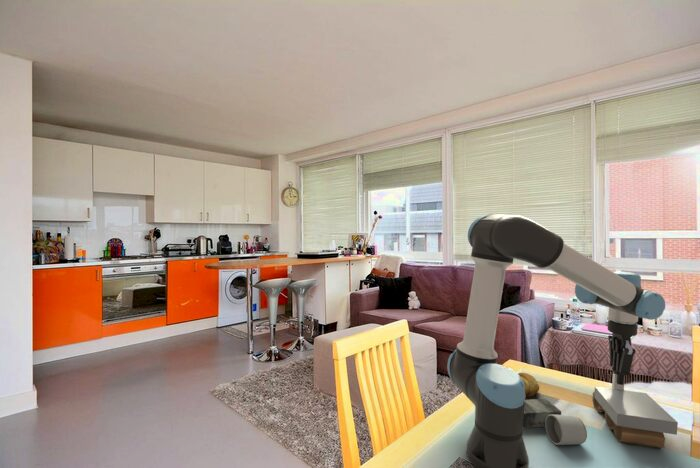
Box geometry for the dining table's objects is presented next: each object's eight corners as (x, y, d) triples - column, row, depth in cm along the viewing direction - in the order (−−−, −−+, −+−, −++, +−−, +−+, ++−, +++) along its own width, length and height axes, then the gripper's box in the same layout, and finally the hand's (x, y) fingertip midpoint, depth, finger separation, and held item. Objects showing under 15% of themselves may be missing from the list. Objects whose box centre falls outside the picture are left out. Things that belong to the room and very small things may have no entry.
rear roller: (630, 418, 116) (637, 413, 112) (595, 413, 119) (601, 407, 115) (625, 399, 120) (632, 393, 116) (591, 394, 123) (596, 388, 118)
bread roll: (532, 386, 134) (533, 365, 133) (548, 400, 124) (549, 378, 124) (499, 387, 133) (500, 366, 132) (512, 401, 123) (513, 378, 123)
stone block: (501, 412, 117) (501, 396, 116) (543, 411, 118) (544, 396, 117) (515, 428, 108) (516, 412, 108) (561, 427, 109) (562, 411, 108)
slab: (616, 425, 100) (617, 413, 100) (594, 396, 115) (594, 386, 115) (676, 434, 96) (677, 422, 96) (645, 403, 112) (646, 393, 111)
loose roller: (612, 433, 106) (614, 415, 106) (652, 439, 104) (654, 421, 103) (621, 445, 101) (623, 426, 100) (663, 452, 98) (665, 433, 98)
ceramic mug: (588, 449, 99) (590, 422, 98) (561, 451, 98) (562, 424, 97) (562, 427, 109) (563, 402, 109) (537, 428, 108) (538, 403, 108)
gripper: (647, 328, 106) (641, 404, 108) (626, 315, 118) (621, 384, 120) (618, 325, 108) (612, 400, 110) (600, 313, 120) (596, 381, 122)
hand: (617, 392), depth 115 cm, fingers closed
